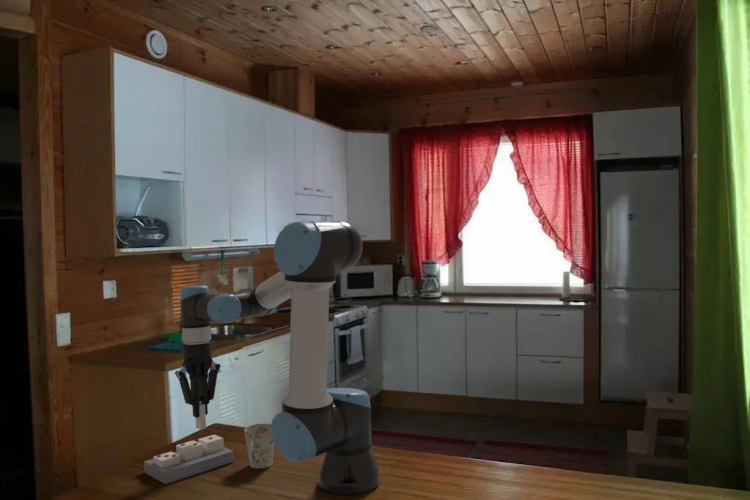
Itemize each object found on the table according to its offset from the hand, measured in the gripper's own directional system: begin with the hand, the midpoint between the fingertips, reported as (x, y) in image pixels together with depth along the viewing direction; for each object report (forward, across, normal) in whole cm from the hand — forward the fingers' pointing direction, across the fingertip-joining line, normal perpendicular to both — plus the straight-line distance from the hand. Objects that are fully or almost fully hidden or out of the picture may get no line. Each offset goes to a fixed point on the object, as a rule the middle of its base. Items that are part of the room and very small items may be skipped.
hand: (201, 427), depth 167 cm
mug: (+10, -8, +15) cm, 20 cm away
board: (+10, +3, -1) cm, 10 cm away
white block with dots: (+9, +10, -1) cm, 13 cm away
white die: (+8, +3, -1) cm, 8 cm away
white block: (+8, -3, 0) cm, 8 cm away
